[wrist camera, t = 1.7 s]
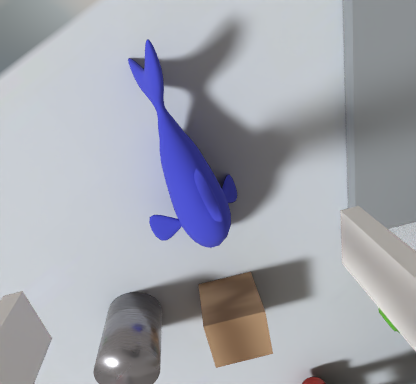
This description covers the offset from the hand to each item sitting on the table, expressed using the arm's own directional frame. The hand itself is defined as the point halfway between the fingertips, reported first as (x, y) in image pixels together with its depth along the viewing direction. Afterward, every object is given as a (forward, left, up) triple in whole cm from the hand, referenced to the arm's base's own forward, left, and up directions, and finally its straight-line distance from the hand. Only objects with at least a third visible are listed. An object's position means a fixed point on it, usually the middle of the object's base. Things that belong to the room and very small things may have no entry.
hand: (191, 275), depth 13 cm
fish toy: (0, -2, -13) cm, 13 cm away
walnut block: (-1, +14, -13) cm, 19 cm away
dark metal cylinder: (+8, +13, -13) cm, 19 cm away
